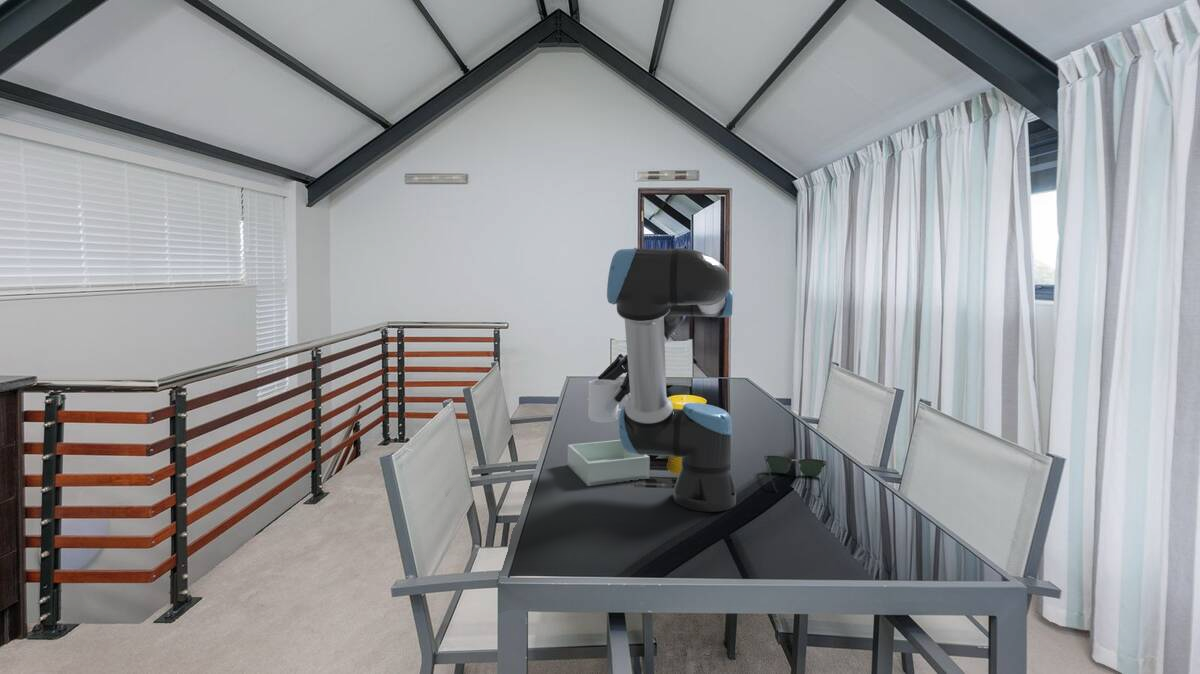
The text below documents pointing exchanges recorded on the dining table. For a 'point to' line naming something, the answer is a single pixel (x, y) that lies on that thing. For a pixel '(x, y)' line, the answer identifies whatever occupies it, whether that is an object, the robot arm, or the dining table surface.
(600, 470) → the bin
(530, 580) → the dining table surface
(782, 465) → the sunglasses
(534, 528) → the dining table surface
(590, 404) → the mug
